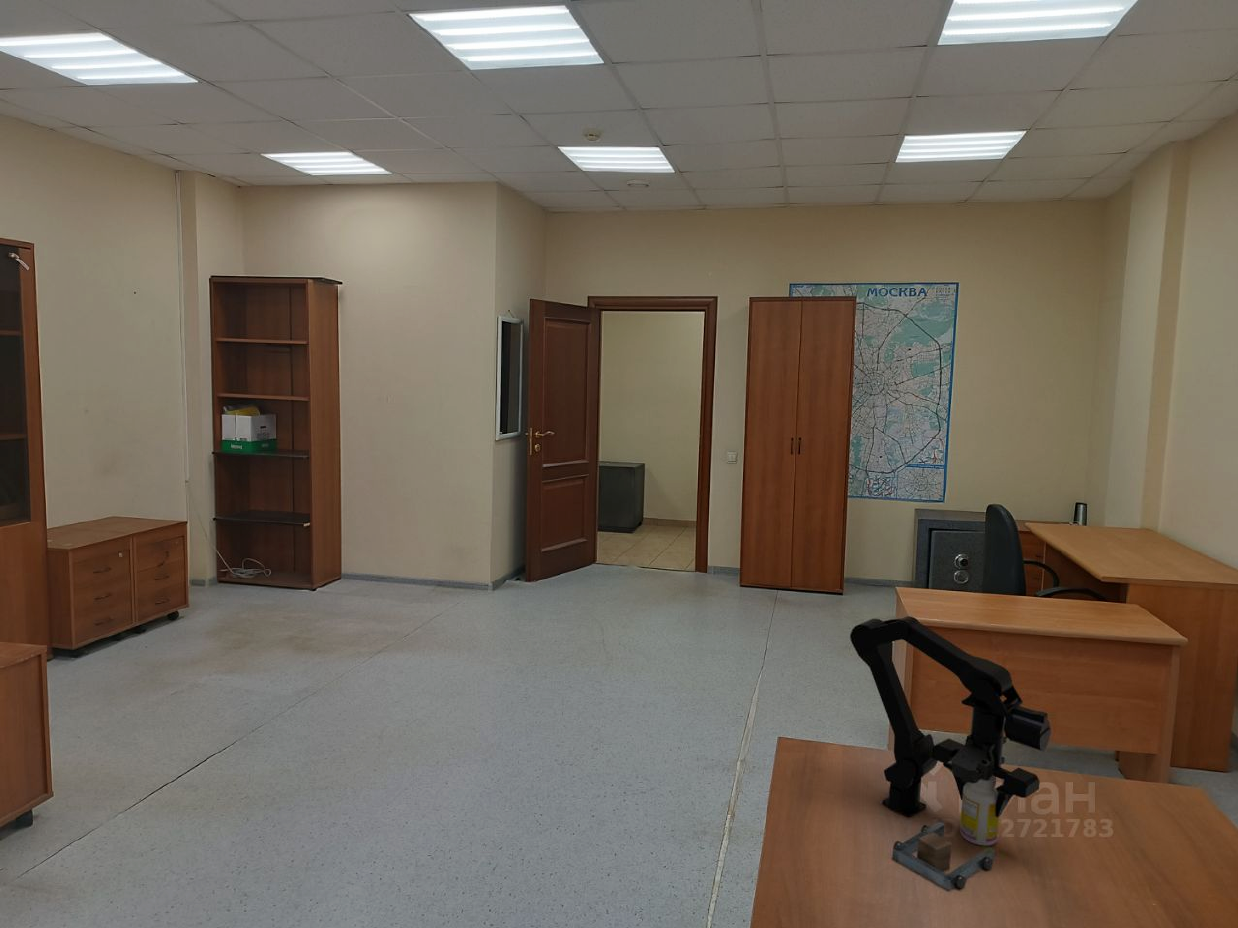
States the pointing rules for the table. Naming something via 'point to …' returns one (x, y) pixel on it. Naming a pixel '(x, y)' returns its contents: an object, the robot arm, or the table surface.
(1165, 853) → the table surface
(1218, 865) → the table surface
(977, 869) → the grey metal u-shaped frame
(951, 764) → the robot arm
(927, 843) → the brown block
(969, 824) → the supplement bottle
